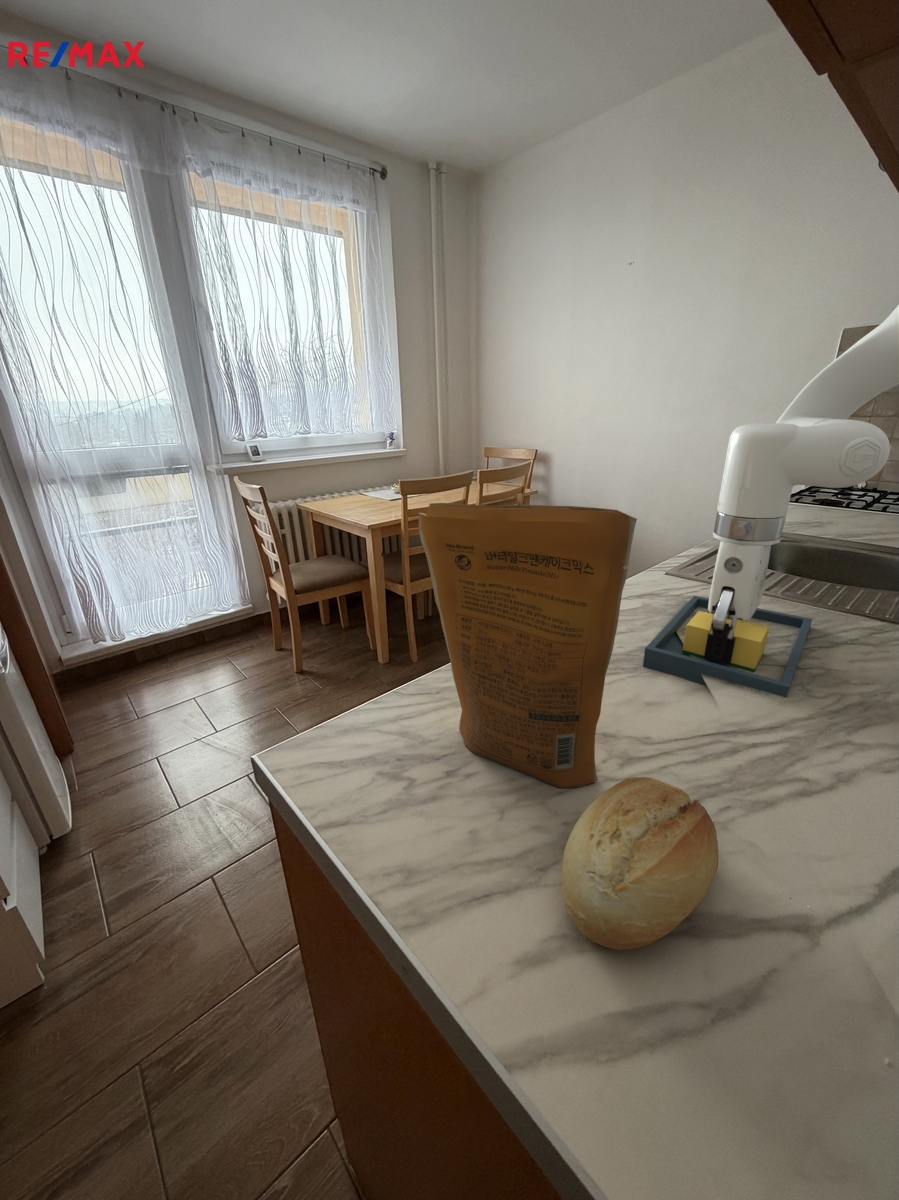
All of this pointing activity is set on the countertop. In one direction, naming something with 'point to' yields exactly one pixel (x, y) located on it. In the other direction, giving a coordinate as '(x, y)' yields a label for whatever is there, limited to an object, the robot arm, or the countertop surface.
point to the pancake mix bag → (529, 626)
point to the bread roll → (638, 863)
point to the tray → (669, 659)
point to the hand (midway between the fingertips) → (723, 650)
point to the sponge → (746, 634)
